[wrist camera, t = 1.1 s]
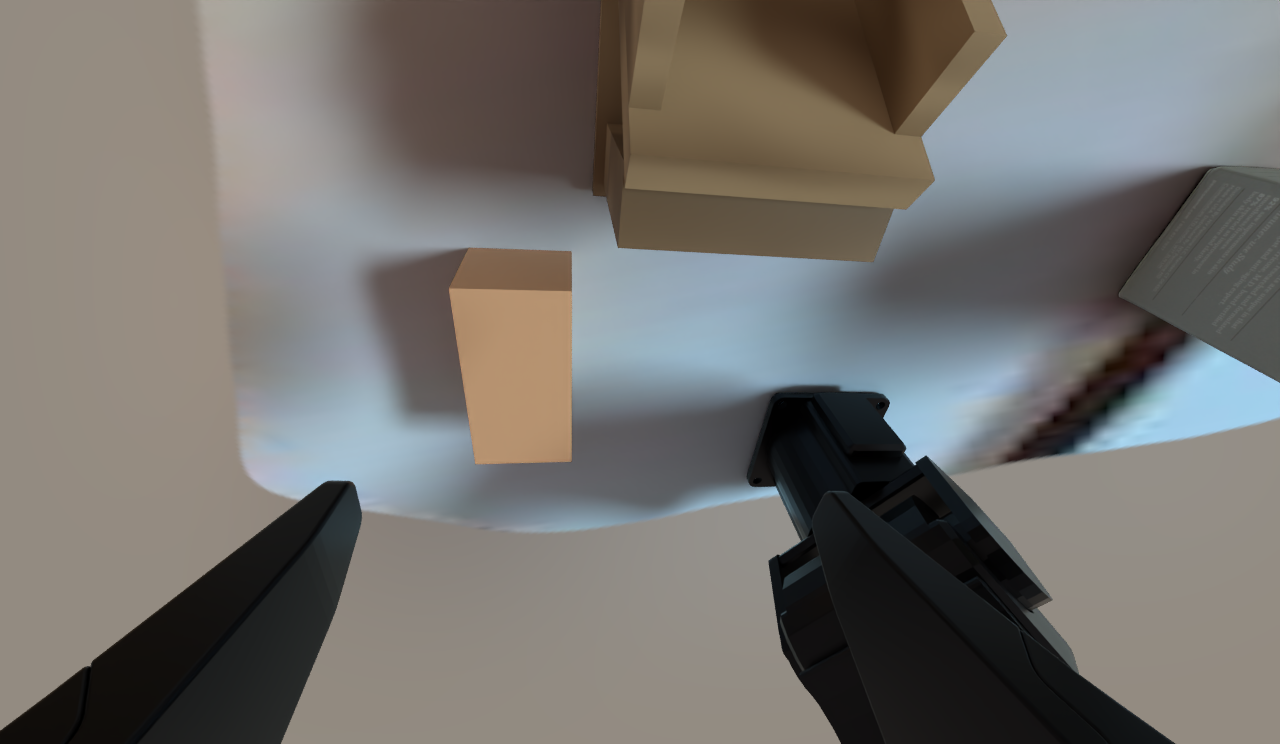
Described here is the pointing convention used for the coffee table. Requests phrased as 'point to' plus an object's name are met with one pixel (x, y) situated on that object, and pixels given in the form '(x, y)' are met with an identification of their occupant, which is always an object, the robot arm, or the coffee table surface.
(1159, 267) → the skincare box
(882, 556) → the robot arm
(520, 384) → the peg
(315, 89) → the coffee table surface
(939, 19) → the cradle
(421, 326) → the coffee table surface
